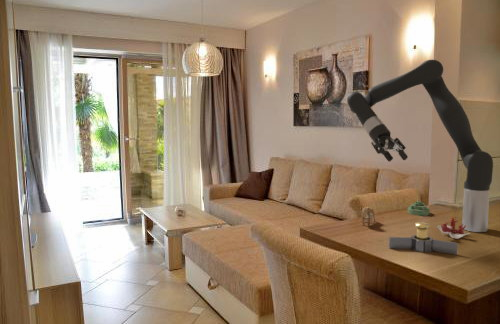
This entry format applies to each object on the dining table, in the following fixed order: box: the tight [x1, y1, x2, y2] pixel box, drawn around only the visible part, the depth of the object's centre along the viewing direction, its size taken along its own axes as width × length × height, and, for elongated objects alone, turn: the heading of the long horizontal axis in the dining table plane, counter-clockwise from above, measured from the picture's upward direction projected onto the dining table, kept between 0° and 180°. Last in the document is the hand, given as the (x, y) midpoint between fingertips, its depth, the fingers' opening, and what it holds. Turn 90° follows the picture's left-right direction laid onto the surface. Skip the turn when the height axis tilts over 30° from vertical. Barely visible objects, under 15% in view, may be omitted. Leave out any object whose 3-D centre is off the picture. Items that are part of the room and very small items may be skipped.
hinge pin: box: [414, 221, 431, 240], centre depth 142 cm, size 5×5×9 cm
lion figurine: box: [360, 206, 376, 227], centre depth 176 cm, size 15×5×9 cm, turn 157°
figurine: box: [436, 217, 471, 240], centre depth 156 cm, size 15×12×7 cm
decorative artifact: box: [407, 199, 431, 217], centre depth 195 cm, size 10×7×10 cm
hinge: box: [388, 234, 459, 256], centre depth 141 cm, size 10×22×4 cm, turn 55°
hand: (398, 159), depth 155 cm, fingers open, 8 cm apart
